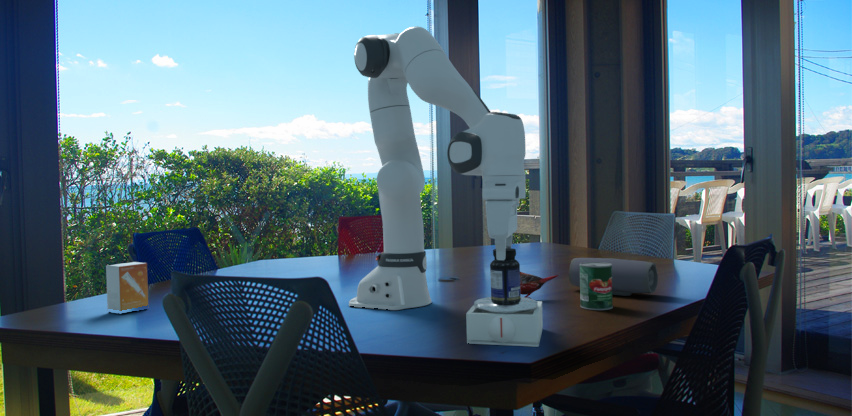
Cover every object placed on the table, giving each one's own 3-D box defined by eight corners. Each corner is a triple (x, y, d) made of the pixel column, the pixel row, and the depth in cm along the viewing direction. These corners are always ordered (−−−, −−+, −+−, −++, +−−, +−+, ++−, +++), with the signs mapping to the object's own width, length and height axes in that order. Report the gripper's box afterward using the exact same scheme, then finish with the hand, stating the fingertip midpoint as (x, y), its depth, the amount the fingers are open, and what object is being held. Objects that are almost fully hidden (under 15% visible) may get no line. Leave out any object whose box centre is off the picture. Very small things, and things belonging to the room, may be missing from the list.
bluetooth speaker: (567, 292, 161) (567, 258, 161) (581, 287, 168) (580, 254, 168) (647, 300, 146) (647, 263, 146) (659, 295, 153) (658, 259, 153)
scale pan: (469, 326, 111) (469, 307, 110) (480, 312, 123) (479, 295, 123) (535, 329, 107) (535, 309, 107) (539, 314, 120) (539, 296, 120)
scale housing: (466, 344, 110) (465, 314, 109) (478, 326, 124) (478, 299, 124) (538, 347, 106) (537, 316, 106) (542, 328, 120) (542, 301, 120)
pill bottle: (519, 298, 118) (518, 247, 118) (522, 304, 112) (521, 250, 111) (490, 299, 118) (489, 247, 118) (491, 305, 112) (490, 251, 112)
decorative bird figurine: (498, 301, 150) (497, 265, 150) (556, 296, 155) (555, 260, 155) (503, 303, 147) (502, 266, 147) (561, 298, 153) (561, 262, 152)
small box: (120, 315, 146) (118, 266, 146) (107, 313, 149) (104, 265, 149) (149, 309, 153) (147, 262, 153) (136, 307, 156) (133, 261, 156)
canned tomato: (590, 302, 146) (589, 261, 145) (618, 306, 140) (617, 263, 140) (574, 307, 140) (573, 264, 140) (602, 312, 135) (601, 266, 134)
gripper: (495, 190, 125) (495, 251, 126) (480, 190, 106) (481, 263, 106) (523, 190, 124) (523, 251, 124) (514, 190, 104) (514, 263, 104)
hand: (504, 256), depth 115 cm, fingers open, 8 cm apart
